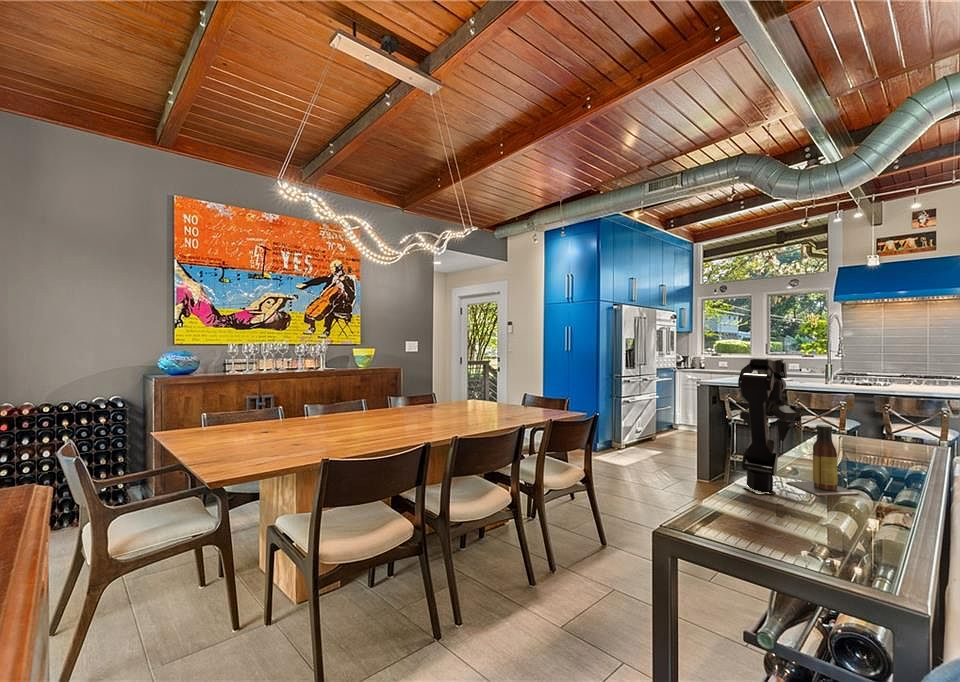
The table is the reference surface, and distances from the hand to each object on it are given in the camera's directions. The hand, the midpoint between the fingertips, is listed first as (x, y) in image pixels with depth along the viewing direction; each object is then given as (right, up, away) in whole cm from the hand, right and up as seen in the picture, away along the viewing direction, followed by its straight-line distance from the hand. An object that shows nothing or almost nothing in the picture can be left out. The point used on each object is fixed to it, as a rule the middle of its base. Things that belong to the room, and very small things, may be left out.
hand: (769, 441), depth 152 cm
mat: (+11, -13, -8) cm, 19 cm away
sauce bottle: (+12, -13, -9) cm, 20 cm away
